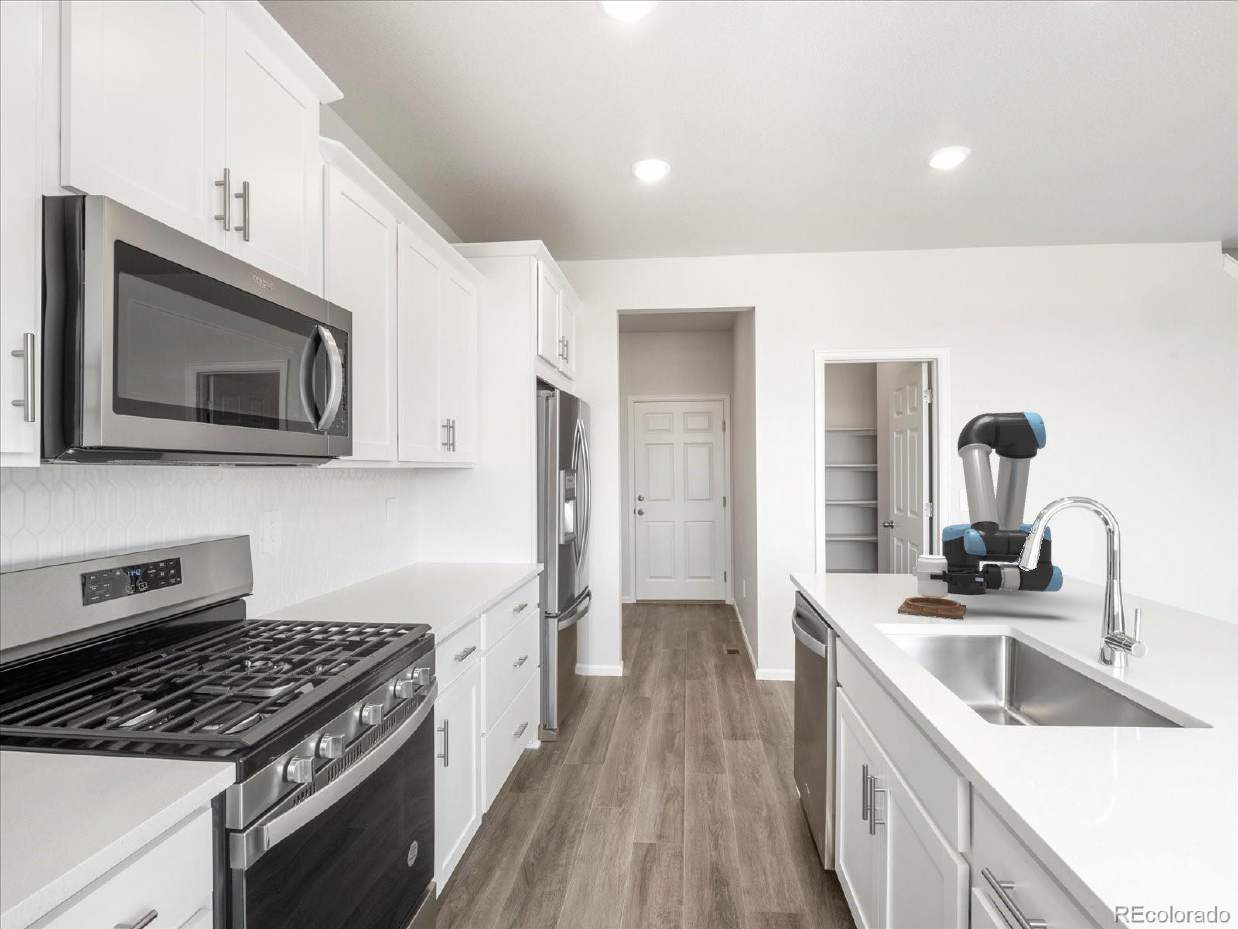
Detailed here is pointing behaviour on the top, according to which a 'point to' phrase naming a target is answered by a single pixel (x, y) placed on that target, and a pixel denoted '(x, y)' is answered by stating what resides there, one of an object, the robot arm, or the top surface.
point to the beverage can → (932, 587)
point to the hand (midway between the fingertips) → (915, 573)
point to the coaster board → (933, 607)
